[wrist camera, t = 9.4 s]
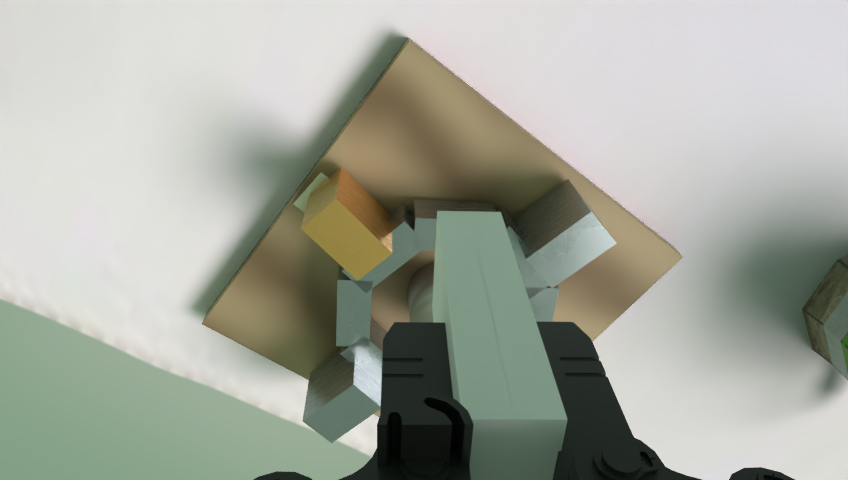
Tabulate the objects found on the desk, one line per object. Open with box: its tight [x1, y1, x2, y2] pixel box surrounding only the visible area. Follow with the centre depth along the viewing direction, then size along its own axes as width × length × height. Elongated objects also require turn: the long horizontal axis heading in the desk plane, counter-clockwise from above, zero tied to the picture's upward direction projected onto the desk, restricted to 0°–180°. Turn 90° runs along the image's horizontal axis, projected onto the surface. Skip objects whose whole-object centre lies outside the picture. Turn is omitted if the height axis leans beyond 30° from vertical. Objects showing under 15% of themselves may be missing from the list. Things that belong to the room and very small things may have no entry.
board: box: [202, 38, 682, 417], centre depth 38 cm, size 22×22×6 cm
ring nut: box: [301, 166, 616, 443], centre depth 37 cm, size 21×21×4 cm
